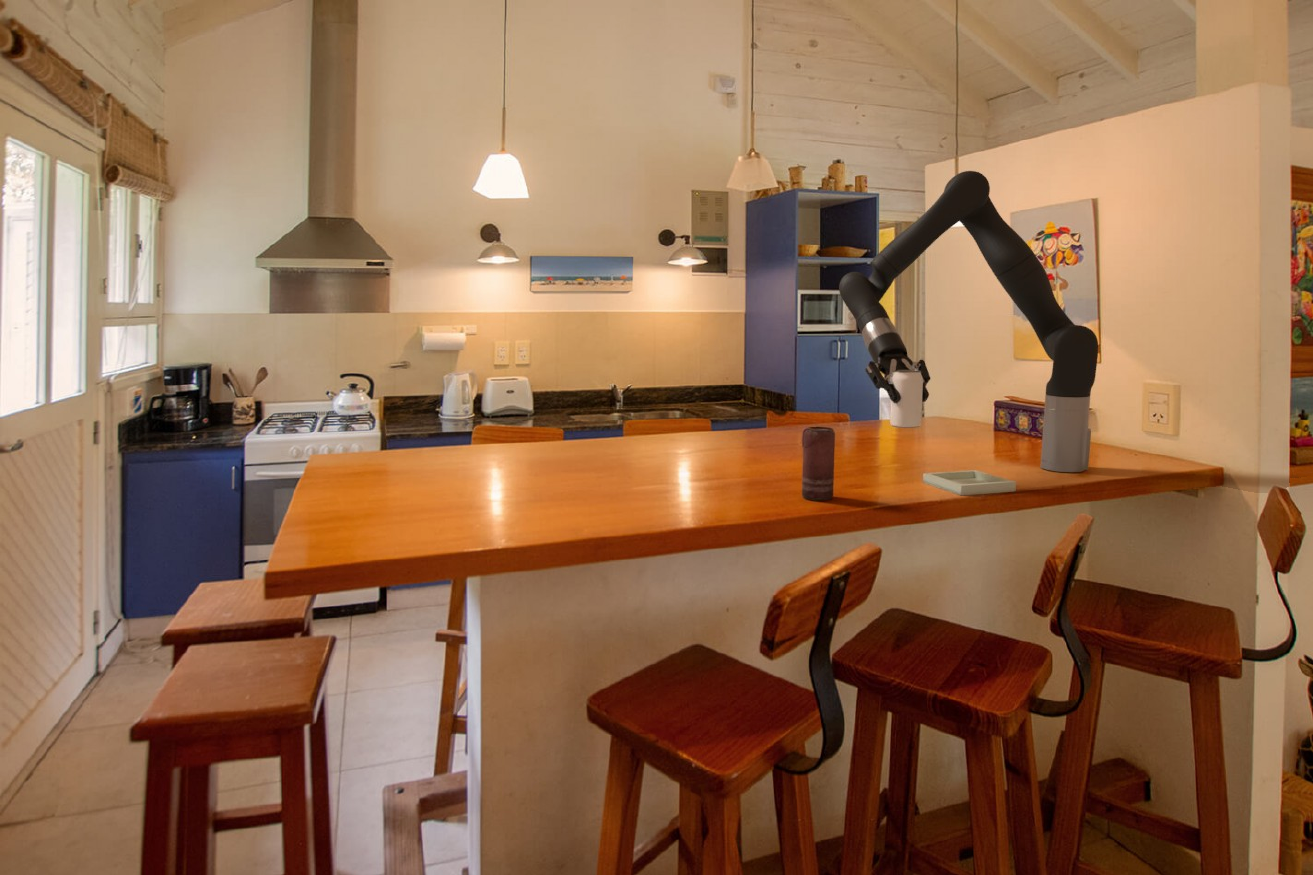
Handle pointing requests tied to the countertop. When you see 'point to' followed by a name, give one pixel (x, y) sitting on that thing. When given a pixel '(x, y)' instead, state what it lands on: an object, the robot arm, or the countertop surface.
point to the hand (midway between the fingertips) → (911, 400)
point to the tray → (969, 482)
